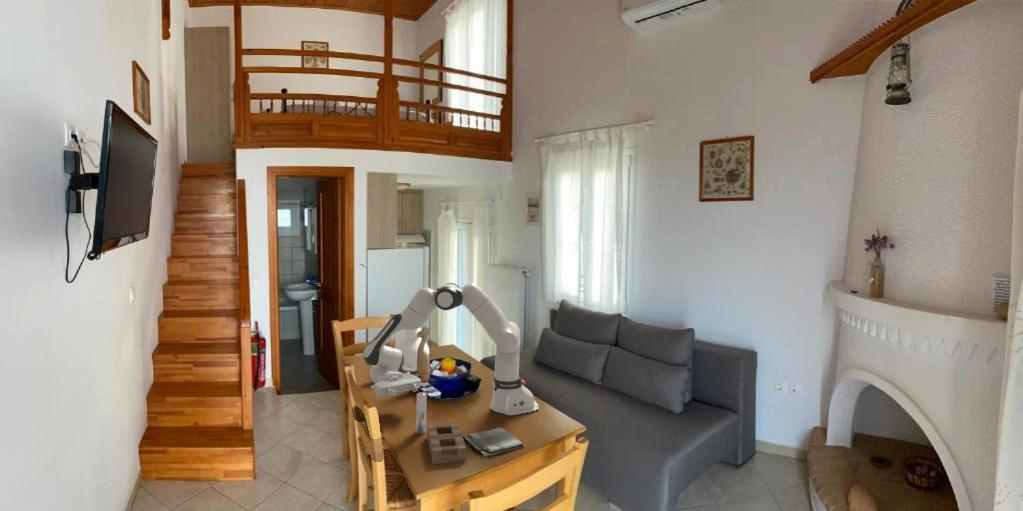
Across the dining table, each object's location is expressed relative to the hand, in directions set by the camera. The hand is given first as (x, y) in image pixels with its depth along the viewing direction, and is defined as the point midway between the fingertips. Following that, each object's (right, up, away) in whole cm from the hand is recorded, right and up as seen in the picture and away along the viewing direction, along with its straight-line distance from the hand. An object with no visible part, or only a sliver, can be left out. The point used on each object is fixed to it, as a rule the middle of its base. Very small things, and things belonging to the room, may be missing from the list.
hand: (406, 391), depth 206 cm
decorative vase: (-11, -6, +70) cm, 72 cm away
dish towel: (+37, -17, -15) cm, 43 cm away
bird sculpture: (0, -10, +39) cm, 41 cm away
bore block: (+20, -16, -21) cm, 33 cm away
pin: (+8, -14, -8) cm, 18 cm away
